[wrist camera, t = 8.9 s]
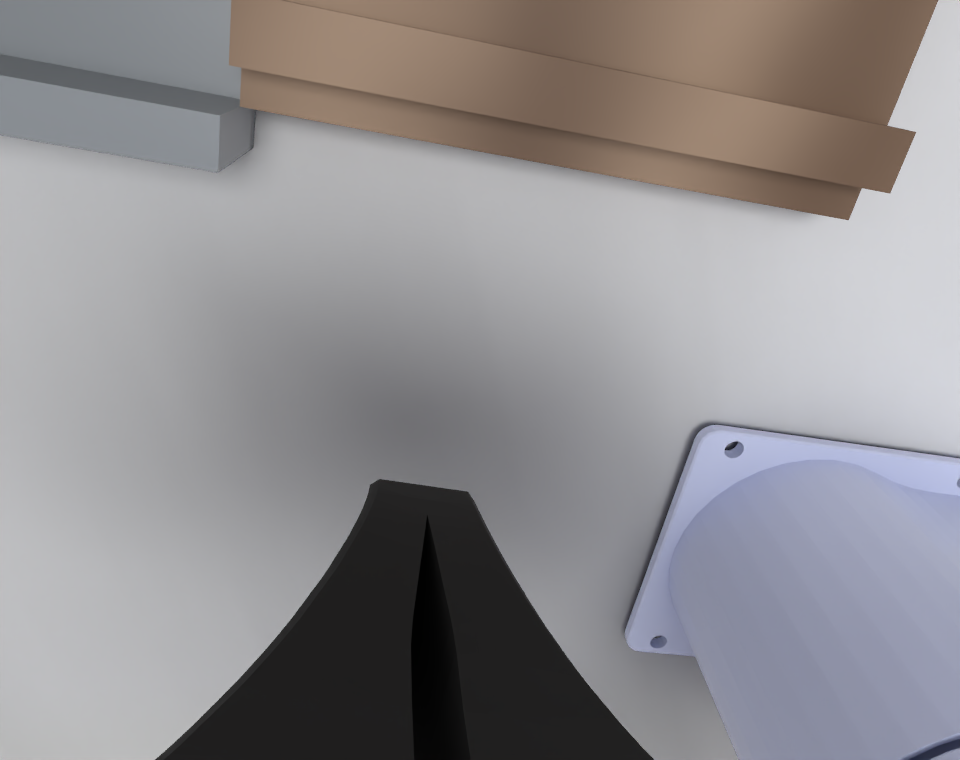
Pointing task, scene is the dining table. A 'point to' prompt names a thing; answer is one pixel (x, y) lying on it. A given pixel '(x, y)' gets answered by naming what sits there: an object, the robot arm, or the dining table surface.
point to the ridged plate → (609, 84)
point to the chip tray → (124, 79)
